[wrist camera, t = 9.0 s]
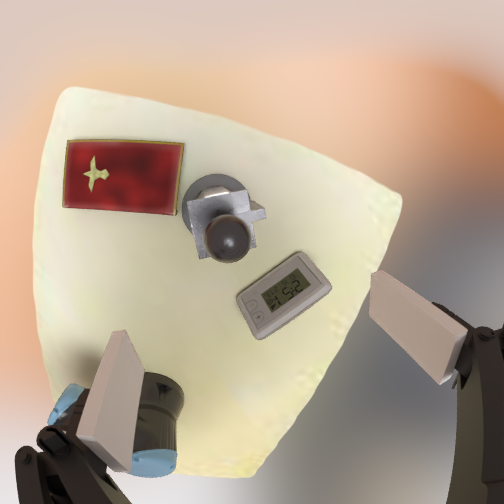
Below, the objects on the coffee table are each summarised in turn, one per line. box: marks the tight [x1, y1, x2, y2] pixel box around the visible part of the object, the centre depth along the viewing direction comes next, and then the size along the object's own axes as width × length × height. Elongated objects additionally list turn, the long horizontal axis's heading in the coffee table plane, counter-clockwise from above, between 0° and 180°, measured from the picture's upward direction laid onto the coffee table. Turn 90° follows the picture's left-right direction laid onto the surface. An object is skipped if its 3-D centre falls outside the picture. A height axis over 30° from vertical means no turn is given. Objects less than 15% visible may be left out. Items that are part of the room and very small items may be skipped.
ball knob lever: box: [203, 214, 252, 263], centre depth 35 cm, size 5×5×19 cm
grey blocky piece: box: [187, 185, 266, 259], centre depth 41 cm, size 10×8×13 cm
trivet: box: [182, 174, 250, 234], centre depth 47 cm, size 12×12×1 cm
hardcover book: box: [62, 139, 184, 216], centre depth 41 cm, size 12×21×4 cm, turn 81°
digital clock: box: [237, 252, 332, 340], centre depth 49 cm, size 16×9×11 cm, turn 113°
